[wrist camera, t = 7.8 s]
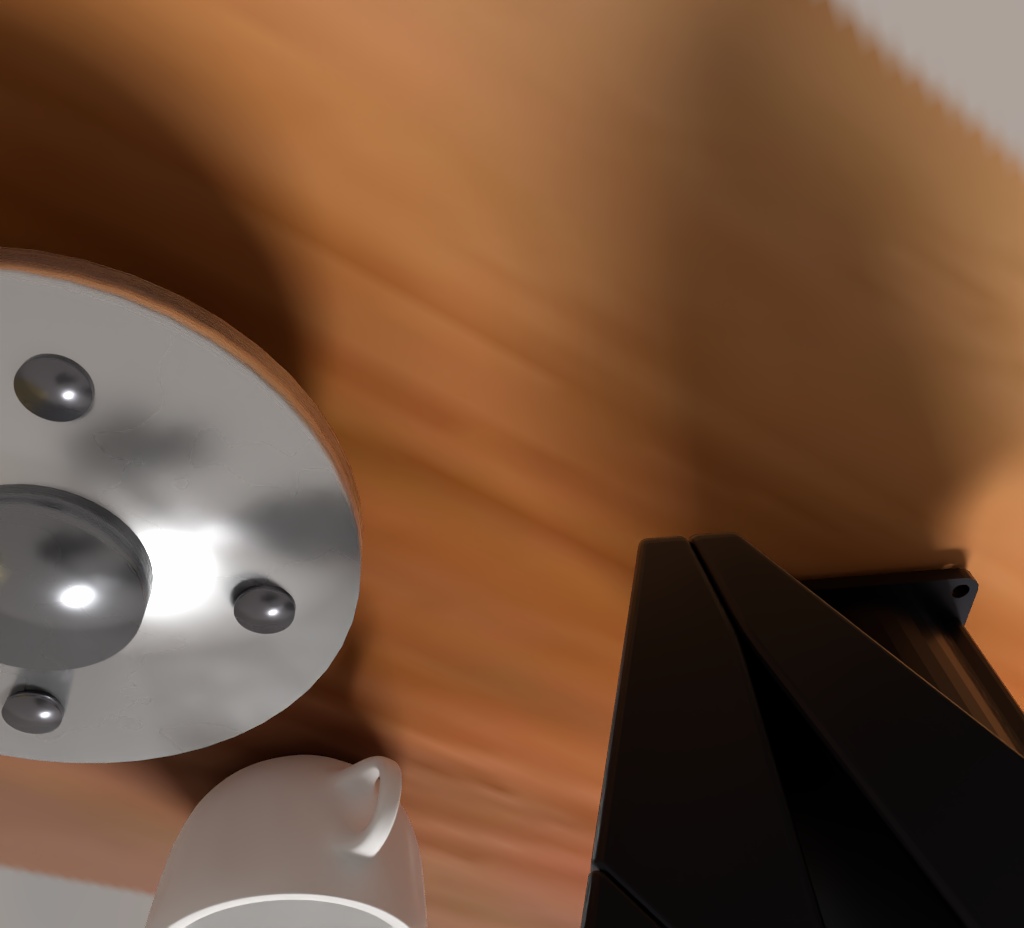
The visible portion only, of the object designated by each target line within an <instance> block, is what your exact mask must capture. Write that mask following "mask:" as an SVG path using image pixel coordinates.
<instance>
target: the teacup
mask: <svg viewBox="0 0 1024 928" xmlns="http://www.w3.org/2000/svg"><path fill="white" fill-rule="evenodd" d="M379 776H380V780H379V779H377V778H378V777H379ZM401 788H402V774H401V769H400V767H399V765H398V764H397V763H396V762H395V761H394V760H392V759H389V758H387V757H383V756H373V757H369V758H366V759H364V760H362V761H360V762H358V763H356V764H353V765H352V764H350V763H347V762H344V761H340V760H337V759H333V758H329V757H324V756H317V755H291V756H284V757H278V758H273V759H269V760H265V761H261V762H258V763H255V764H252V765H250V766H248V767H245V768H243V769H241V770H239V771H237V772H235V773H234V774H232V775H230V776H229V777H227V778H226V779H224V780H223V781H222V782H220V783H219V784H218V785H216V786H215V787H214V788H213V789H212V790H211V791H210V792H209V793H207V794H206V795H205V796H204V798H203V799H202V800H201V801H200V802H199V803H198V804H197V806H196V807H195V808H194V810H193V811H192V813H191V814H190V816H189V817H188V819H187V821H186V822H185V824H184V826H183V827H182V829H181V831H180V833H179V835H178V837H177V838H176V840H175V843H174V845H173V847H172V849H171V852H170V854H169V857H168V859H167V862H166V865H165V868H164V870H163V873H162V876H161V879H160V882H159V885H158V888H157V891H156V894H155V897H154V900H153V903H152V907H151V909H150V913H149V916H148V919H147V922H146V926H145V928H427V913H426V901H425V890H424V880H423V870H422V862H421V856H420V851H419V847H418V843H417V839H416V836H415V833H414V830H413V827H412V825H411V822H410V820H409V817H408V815H407V813H406V811H405V809H404V808H403V806H402V804H401V803H400V796H401Z"/></svg>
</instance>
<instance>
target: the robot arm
mask: <svg viewBox="0 0 1024 928" xmlns="http://www.w3.org/2000/svg"><path fill="white" fill-rule="evenodd" d="M977 591H978V583H977V581H976V580H975V579H974V577H973V576H972V575H971V573H970V572H969V571H968V570H966V569H960V568H956V569H944V570H931V571H918V572H906V573H893V574H880V575H868V576H855V577H842V578H830V579H817V580H805V581H798V580H797V579H795V578H794V577H793V576H792V575H790V574H789V573H788V572H786V571H785V570H784V569H783V568H781V567H780V566H779V565H777V564H776V563H775V562H774V561H772V560H771V559H770V558H768V557H767V556H766V555H765V554H763V553H762V552H761V551H760V550H758V549H757V548H756V547H754V546H753V545H752V544H751V543H749V542H748V541H747V540H745V539H744V538H743V537H741V536H740V535H738V534H736V533H733V532H721V533H709V534H696V535H693V536H692V537H690V538H689V539H688V540H687V539H686V538H684V537H682V536H670V537H657V538H646V539H643V540H642V541H641V542H640V543H639V546H638V552H637V558H636V565H635V572H634V578H633V585H632V592H631V598H630V605H629V612H628V618H627V625H626V632H625V638H624V645H623V652H622V659H621V665H620V672H619V679H618V685H617V692H616V699H615V705H614V712H613V719H612V725H611V732H610V739H609V745H608V752H607V759H606V765H605V772H604V779H603V786H602V792H601V799H600V806H599V812H598V819H597V826H596V832H595V839H594V846H593V852H592V859H591V873H590V874H589V876H588V882H587V888H586V895H585V902H584V908H583V915H582V922H581V928H1024V712H1023V711H1022V709H1021V708H1020V707H1019V705H1018V704H1017V702H1016V701H1015V699H1014V698H1013V696H1012V695H1011V694H1010V692H1009V691H1008V689H1007V688H1006V686H1005V685H1004V683H1003V682H1002V680H1001V679H1000V678H999V676H998V675H997V673H996V672H995V670H994V669H993V667H992V666H991V665H990V663H989V662H988V660H987V659H986V657H985V656H984V654H983V653H982V651H981V650H980V649H979V647H978V646H977V644H976V643H975V641H974V640H973V638H972V637H971V636H970V634H969V633H968V631H967V630H966V628H965V627H964V625H965V622H966V620H967V617H968V614H969V612H970V609H971V607H972V604H973V601H974V599H975V596H976V593H977Z"/></svg>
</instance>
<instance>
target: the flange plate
mask: <svg viewBox="0 0 1024 928" xmlns="http://www.w3.org/2000/svg"><path fill="white" fill-rule="evenodd" d="M362 545H363V520H362V512H361V503H360V496H359V493H358V490H357V486H356V483H355V479H354V476H353V472H352V469H351V466H350V464H349V462H348V460H347V457H346V455H345V453H344V451H343V449H342V447H341V444H340V442H339V440H338V438H337V436H336V434H335V433H334V431H333V430H332V428H331V427H330V425H329V424H328V422H327V420H326V419H325V417H324V416H323V414H322V413H321V411H320V410H319V408H318V407H317V405H316V404H315V403H314V402H313V400H312V399H311V398H310V397H309V396H308V394H307V393H306V392H305V391H304V390H303V389H302V387H301V386H300V385H299V384H298V383H297V382H296V380H295V379H294V378H293V377H292V376H291V375H290V374H289V373H288V372H287V371H286V370H285V369H284V368H283V367H282V366H281V365H280V364H278V363H277V362H276V361H275V360H274V359H273V358H272V357H271V356H270V355H269V354H268V353H266V352H265V351H264V350H263V349H262V348H261V347H260V346H259V345H257V344H256V343H255V342H253V341H252V340H251V339H249V338H248V337H246V336H245V335H244V334H242V333H241V332H239V331H238V330H237V329H235V328H234V327H233V326H231V325H230V324H228V323H227V322H226V321H224V320H223V319H221V318H220V317H218V316H216V315H214V314H213V313H211V312H209V311H207V310H206V309H204V308H202V307H200V306H199V305H197V304H195V303H193V302H192V301H190V300H188V299H186V298H185V297H183V296H181V295H179V294H177V293H174V292H172V291H170V290H167V289H165V288H163V287H161V286H158V285H156V284H154V283H151V282H149V281H147V280H145V279H142V278H140V277H138V276H135V275H133V274H129V273H126V272H123V271H120V270H117V269H113V268H110V267H107V266H104V265H101V264H98V263H94V262H91V261H88V260H84V259H79V258H74V257H69V256H65V255H60V254H55V253H50V252H45V251H40V250H34V249H22V248H11V247H0V755H6V756H12V757H18V758H25V759H31V760H42V761H54V762H66V763H112V762H127V761H140V760H146V759H153V758H159V757H166V756H172V755H177V754H181V753H185V752H189V751H193V750H197V749H201V748H205V747H207V746H210V745H213V744H216V743H219V742H222V741H224V740H227V739H230V738H233V737H235V736H237V735H240V734H242V733H244V732H246V731H248V730H250V729H252V728H254V727H256V726H258V725H260V724H262V723H264V722H265V721H267V720H269V719H270V718H272V717H273V716H275V715H277V714H278V713H280V712H281V711H283V710H284V709H286V708H287V707H289V706H290V705H291V704H292V703H293V702H295V701H296V700H297V699H298V698H299V697H301V696H302V695H303V694H304V693H305V692H307V691H308V690H309V689H310V688H311V687H312V685H313V684H314V683H315V682H316V681H317V680H318V679H319V678H320V677H321V675H322V674H323V673H324V672H325V671H326V670H327V669H328V667H329V666H330V664H331V662H332V661H333V659H334V658H335V656H336V655H337V653H338V652H339V650H340V649H341V647H342V645H343V643H344V640H345V638H346V636H347V633H348V631H349V629H350V627H351V624H352V622H353V618H354V614H355V610H356V605H357V601H358V597H359V589H360V575H361V562H362Z"/></svg>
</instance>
